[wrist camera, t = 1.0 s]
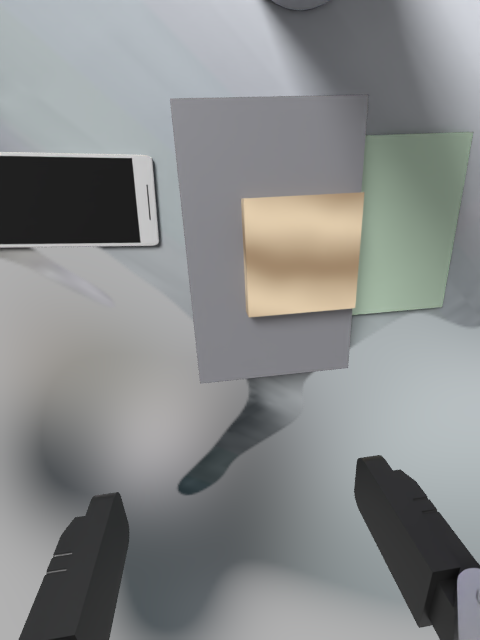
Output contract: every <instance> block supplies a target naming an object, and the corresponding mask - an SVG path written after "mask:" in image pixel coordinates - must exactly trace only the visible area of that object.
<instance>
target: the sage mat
mask: <svg viewBox="0 0 480 640" xmlns="http://www.w3.org/2000/svg"><path fill="white" fill-rule="evenodd" d="M472 137H473V132H454V133H424V134H394V135H366V138H365V151H364V164H363V177H362V190H361V192H364V205H363V217H362V230H361V242H360V255H359V267H358V280H357V293H356V305H355V308H352V315H359V314H370V313H381V312H392V311H404V310H415V309H426V308H437V307H442V305H443V299H444V294H445V288H446V283H447V277H448V271H449V266H450V260H451V254H452V249H453V243H454V238H455V232H456V226H457V221H458V215H459V210H460V204H461V198H462V193H463V187H464V182H465V176H466V170H467V165H468V159H469V154H470V148H471V142H472Z"/></svg>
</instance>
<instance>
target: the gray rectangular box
mask: <svg viewBox="0 0 480 640" xmlns="http://www.w3.org/2000/svg"><path fill="white" fill-rule="evenodd" d="M368 98H369V95H327V96H278V97H229V98H179V99H170V104H171V113H172V122H173V132H174V141H175V151H176V160H177V170H178V179H179V188H180V198H181V207H182V217H183V226H184V236H185V245H186V254H187V264H188V273H189V283H190V292H191V302H192V311H193V321H194V330H195V338H196V349H197V358H198V368H199V377H200V383H210V382H219V381H228V380H238V379H247V378H257V377H266V376H276V375H285V374H295V373H304V372H313V371H323V370H332V369H341V368H348V359H349V347H350V334H351V321H352V308H351V309H340V310H328V311H317V312H305V313H294V314H282V315H271V316H260V317H248V315H247V312H246V297H245V275H244V252H243V230H242V208H241V199H243V198H262V197H282V196H301V195H321V194H340V193H360V192H361V190H362V177H363V164H364V151H365V138H366V125H367V112H368Z"/></svg>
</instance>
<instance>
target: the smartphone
mask: <svg viewBox="0 0 480 640" xmlns="http://www.w3.org/2000/svg"><path fill="white" fill-rule="evenodd" d="M158 243H159V232H158V220H157V207H156V195H155V183H154V171H153V160H152V158H151V157H149V156H147V155H126V154H74V153H23V152H0V248H3V247H81V246H82V247H83V246H153V245H157V244H158Z"/></svg>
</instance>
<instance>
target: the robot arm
mask: <svg viewBox="0 0 480 640" xmlns="http://www.w3.org/2000/svg"><path fill="white" fill-rule="evenodd" d="M271 1H273V2H274V3H275V4H278V5H280V6H282V7H285V8H287V9H293V10H307V9H313V8H315V7H318V6H320V5H323V4H325V3H326V2H328V1H329V0H271ZM354 493H355V499H356V503H357V506H358V508H359V511H360V513H361V514H362V516H363V519H364V520H365V523H366V524H367V526H368V528H369V530H370V532H371V534H372V536H373V538H374V540H375V542H376V544H377V546H378V548H379V550H380V552H381V554H382V556H383V558H384V560H385V562H386V564H387V566H388V568H389V570H390V572H391V574H392V575H393V578H394V579H395V582H396V584H397V585H398V587H399V589H400V591H401V593H402V595H403V597H404V599H405V601H406V603H407V605H408V607H409V609H410V611H411V613H412V615H413V617H414V619H415V621H416V623H417V625H418V626H419V628H420V627H425V626H430V625H433V627H434V629H435V631H436V633H437V634H438V636H439V638H440V640H480V565H479V564H478V563H477V561H476V560H475V559H474V558H473V556H472V555H471V554H470V552H469V551H468V550H467V548H466V547H465V546H464V544H463V543H462V542H461V540H460V539H459V538H458V536H457V535H456V534H455V533H454V531H453V530H452V529H451V527H450V526H449V525H448V523H447V522H446V521H445V519H444V518H443V517H442V515H441V514H440V513H439V512H437V509H436V507H434V505H433V503H432V502H431V501H430V500H428V498H427V496H426V494H425V493H424V492H423V490H422V489H421V488H420V486H419V485H418V484H417V482H416V481H414V480H413V479H412V478H411V477H409V476H408V475H407V474H405V473H404V472H403V471H401V470H395V471H393V470H392V469H391V467H390V466H389V465H388V463H387V462H386V460H385V459H384V458H383V457H382V456H380V455H377V456H371V457H364V458H359V459H358V460H357V466H356V477H355V489H354ZM128 544H129V524H128V520H127V517H126V513H125V510H124V506H123V502H122V499H121V496H120V494H119V493H118V492H116V493H109V494H103V495H96V496H94V497H93V498H92V499H91V502H90V505H89V507H88V510H87V513H86V516H82V517H75V518H74V520H73V521H72V522H71V523H70V525H69V526H68V527H67V528H66V530H65V531H64V532H63V534H62V535H61V537H60V540H59V542H58V545H57V547H56V550H55V552H54V556H53V558H52V559H51V562H50V564H49V567H48V569H47V574H46V575H45V576H44V579H43V582H42V584H41V586H40V589H39V591H38V593H37V596H36V598H35V601H34V604H33V606H32V608H31V611H30V613H29V616H28V618H27V621H26V623H25V625H24V628H23V630H22V633H21V635H20V638H19V640H109V637H110V632H111V627H112V623H113V618H114V613H115V608H116V603H117V598H118V593H119V588H120V583H121V578H122V574H123V569H124V564H125V559H126V554H127V550H128Z"/></svg>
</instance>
